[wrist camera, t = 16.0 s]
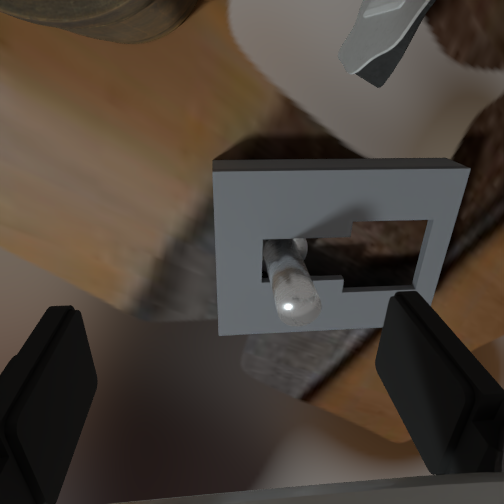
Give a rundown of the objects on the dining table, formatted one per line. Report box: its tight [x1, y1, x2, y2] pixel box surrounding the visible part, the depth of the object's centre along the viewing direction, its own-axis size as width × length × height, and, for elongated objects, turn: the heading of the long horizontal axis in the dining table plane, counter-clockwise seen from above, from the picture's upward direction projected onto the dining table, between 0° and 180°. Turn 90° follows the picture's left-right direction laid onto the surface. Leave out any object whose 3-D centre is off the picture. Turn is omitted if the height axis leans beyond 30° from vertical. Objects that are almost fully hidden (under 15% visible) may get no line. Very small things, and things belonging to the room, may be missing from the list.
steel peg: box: [262, 238, 322, 327], centre depth 38 cm, size 6×6×13 cm
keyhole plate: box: [213, 158, 471, 336], centre depth 43 cm, size 20×26×4 cm
